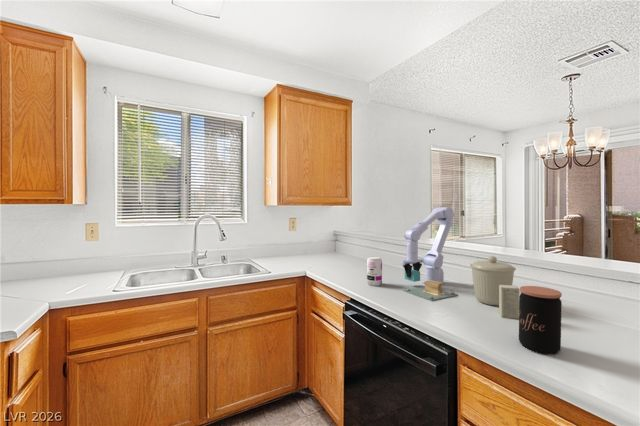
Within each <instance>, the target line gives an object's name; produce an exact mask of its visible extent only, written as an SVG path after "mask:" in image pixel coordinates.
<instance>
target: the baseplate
mask: <svg viewBox="0 0 640 426" xmlns="http://www.w3.org/2000/svg"><path fill="white" fill-rule="evenodd" d="M403 291H404V292H405V293H408V294H411V295H413V296H416V297H419V298H422V299H424V300H427V301H430V302H434V301H438V300H443V299H449V298H452V297H453V298H454V297H456V296H459V294H458V293H456V292H454V291H447V290H444V289H442V293H441V294H434V293H429V292H425V285H424V286H420V287H415V288H414V287H413V288H406V289H404V290H403Z"/></svg>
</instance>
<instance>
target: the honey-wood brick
mask: <svg viewBox="0 0 640 426" xmlns="http://www.w3.org/2000/svg"><path fill="white" fill-rule="evenodd" d="M424 281H425V283H424V286H425V292H429V293H434V294H441V293H442V290H443V285H444V284H443V283H441V282H436V281H431V280H428V281H426V280H424Z"/></svg>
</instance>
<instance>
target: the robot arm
mask: <svg viewBox="0 0 640 426" xmlns="http://www.w3.org/2000/svg"><path fill="white" fill-rule="evenodd" d="M454 215H455V213H454V210H453V208H452V207H451V206H447V207H445V206H444V207H442V206H441V207H440V206H436V207H435V208H434V209H432V210H431V213H430V214H429V215H428V216H427V217H426V218H425V219H424V220H423V221H422V220H421V221H418V222H417V223H416V224H415V225H414V226H413V227H411V229H408V230H406V231H405V234H404V236H403V237H404V238H405V241H406V259H404V260H401V261H400V265H401V266H402V267H403V268H404V269H403V270H404V272H405V271H406V275H407V277H408V278H411V270H416V271H420V269H421V268H422V266H423V265H424V267H425V280H423V281H422V283H423V284H425V281H428V280H431V281H436V282H441V283H443V285H444V284H445V279H444V274H445V273H444V270H443V268H442V266H443V264H444V263H443V262H444V261H443V260H444V258H445V257H444V255H443V254H442V251H443V248H444V246H445V243H446V241H447V238H448V234H449V232H450V230H451V227H452V223H453V222H452V221H453V218H454ZM435 221H437V222H438V223H439V228H438V231H437V233H436V236H435V238H434V242H433V244H432V246H431V249H430V250H428V251H427V252H426V254H425V255H424V256H423V258H419V247H418V246H419V240H420V239H421V236H422V235H423V234H424V233H425V232H426V231H427V230H428V228H429V225H431V224H432V223H434V222H435Z"/></svg>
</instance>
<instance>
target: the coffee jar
mask: <svg viewBox="0 0 640 426" xmlns="http://www.w3.org/2000/svg"><path fill="white" fill-rule="evenodd" d="M519 292H520V293H519V319H518V341H519V343H520V345H521V346H522V347H523V348H524V347H525V348H524V349H526V348H527V350H528V351H530V350H531V351H530V352H533V351H534V352H533V353H536V352H537V354H540V353H541V354H540V355H547V354H553V355H557V354H558V353H559V352H560V351H561V349H562V348H561V347H562V346H561V345H562V308H563V307H562V305H563V304H562V300H561V299H560V298H562V295H563V294H562V292H561V291H559V290H557V289H554V288H550V287H546V286H545V287H544V286H537V285H536V286H535V285H523V286H520V287H519Z"/></svg>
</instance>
